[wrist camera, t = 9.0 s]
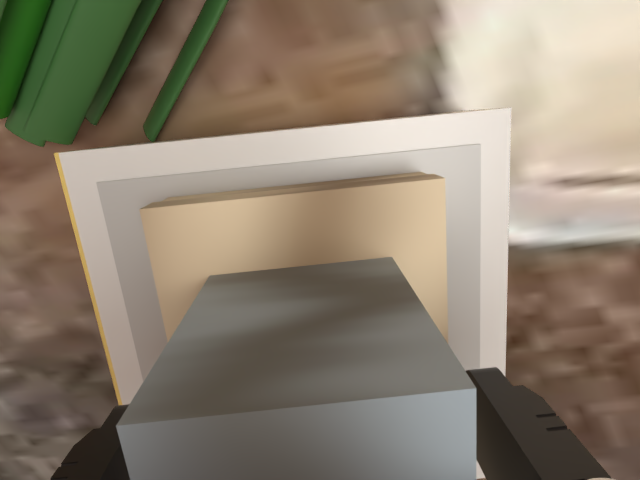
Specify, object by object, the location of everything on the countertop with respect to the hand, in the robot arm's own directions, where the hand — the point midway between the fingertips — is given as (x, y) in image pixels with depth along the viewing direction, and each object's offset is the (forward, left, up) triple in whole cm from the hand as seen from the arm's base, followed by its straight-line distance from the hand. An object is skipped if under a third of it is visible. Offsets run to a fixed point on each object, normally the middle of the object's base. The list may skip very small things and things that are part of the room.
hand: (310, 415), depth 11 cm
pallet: (0, 0, -4) cm, 4 cm away
